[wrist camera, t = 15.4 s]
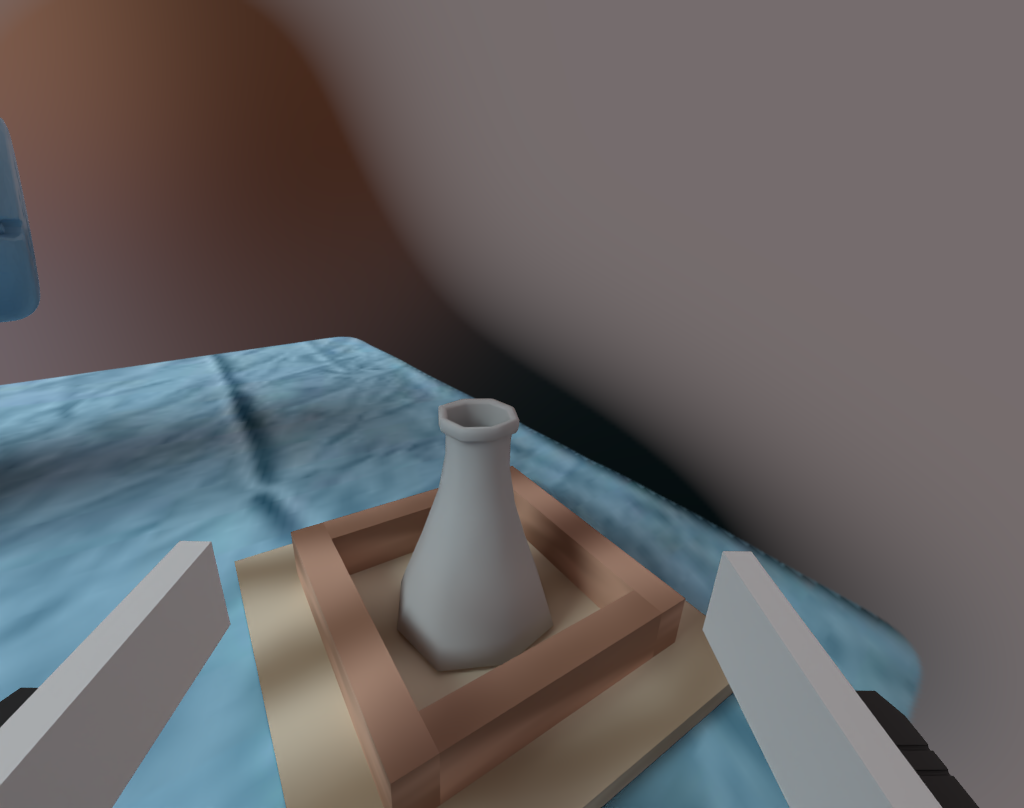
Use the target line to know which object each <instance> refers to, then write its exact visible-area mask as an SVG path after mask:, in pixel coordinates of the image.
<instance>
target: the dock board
mask: <svg viewBox="0 0 1024 808" xmlns="http://www.w3.org/2000/svg"><path fill="white" fill-rule="evenodd" d="M510 472H511V479H512V486H513V493H514V500H515V505H516V508H517V511H518V514H519V518H520V521H521V524H522V527H523V531H524V534H525V537H526V539H527V542H528V545H529V548H530V551H531V553H532V556H533V559H534V562H535V565H536V568H537V571H538V574H539V577H540V581H541V584H542V587H543V591H544V594H545V598H546V601H547V604H548V608H549V611H550V615H551V618H552V622H553V626H552V627H551V628H550V629H549V630H548V631H546V632H545V633H544V634H543V635H542V636H541V637H539V638H538V639H537V640H536V641H535V642H534V643H533V644H531V645H530V646H529V647H528V648H527V649H526V650H524V651H523V652H522V653H521V654H519V655H518V656H516V657H514V658H512V659H511V660H509V661H507V662H505V663H503V664H502V665H495V666H486V667H476V668H467V669H457V670H447V671H437V670H436V669H435V668H434V667H433V666H432V665H431V664H430V663H429V662H428V661H427V660H426V659H425V658H424V657H423V655H422V654H421V653H420V652H419V651H418V650H417V649H416V648H415V647H414V646H413V645H412V644H411V643H410V642H409V641H408V640H407V639H406V638H405V637H404V636H403V634H402V633H401V632H400V631H399V630H398V629H397V626H398V613H399V601H400V589H401V581H402V578H403V575H404V573H405V570H406V568H407V565H408V563H409V561H410V559H411V556H412V554H413V552H414V549H415V547H416V545H417V543H418V540H419V538H420V536H421V533H422V531H423V528H424V526H425V523H426V520H427V518H428V515H429V512H430V510H431V507H432V505H433V502H434V499H435V497H436V494H437V491H438V489H439V488H437V489H434V490H430V491H427V492H424V493H420V494H417V495H414V496H410V497H407V498H404V499H400V500H397V501H394V502H390V503H387V504H383V505H380V506H377V507H373V508H370V509H367V510H363V511H360V512H357V513H353V514H350V515H347V516H343V517H340V518H337V519H333V520H330V521H327V522H323V523H320V524H316V525H313V526H310V527H306V528H303V529H300V530H296V531H293V532H291V536H292V543H293V544H290V545H287V546H283V547H280V548H277V549H274V550H271V551H267V552H264V553H261V554H258V555H254V556H251V557H248V558H245V559H242V560H238V561H235V566H236V571H237V576H238V580H239V585H240V590H241V595H242V599H243V604H244V609H245V614H246V618H247V623H248V628H249V633H250V637H251V642H252V647H253V652H254V656H255V661H256V666H257V671H258V675H259V680H260V685H261V690H262V694H263V699H264V704H265V709H266V713H267V718H268V723H269V728H270V732H271V737H272V742H273V747H274V751H275V756H276V761H277V766H278V770H279V775H280V780H281V784H282V789H283V794H284V799H285V803H286V808H601V807H602V806H604V805H605V804H606V803H607V802H608V801H609V800H610V799H612V798H613V797H614V796H615V795H616V794H617V793H618V792H620V791H621V790H622V789H623V788H624V787H625V786H626V785H628V784H629V783H630V782H631V781H632V780H633V779H634V778H636V777H637V776H638V775H639V774H640V773H641V772H643V771H644V770H645V769H646V768H647V767H648V766H649V765H651V764H652V763H653V762H654V761H655V760H656V759H657V758H659V757H660V756H661V755H662V754H663V753H664V752H665V751H667V750H668V749H669V748H670V747H671V746H672V745H673V744H675V743H676V742H677V741H678V740H679V739H680V738H681V737H683V736H684V735H685V734H686V733H687V732H688V731H690V730H691V729H692V728H693V727H694V726H695V725H696V724H698V723H699V722H700V721H701V720H702V719H703V718H704V717H706V716H707V715H708V714H709V713H710V712H711V711H712V710H714V709H715V708H716V707H717V706H718V705H719V704H720V703H722V702H723V701H724V700H725V699H726V698H727V697H728V696H730V695H731V694H732V693H733V691H732V689H731V687H730V685H729V683H728V681H727V679H726V677H725V675H724V673H723V671H722V668H721V666H720V664H719V662H718V660H717V658H716V656H715V654H714V652H713V650H712V648H711V646H710V644H709V642H708V640H707V638H706V636H705V634H704V632H703V630H702V629H703V626H704V622H705V618H706V616H705V615H704V614H702V613H701V612H700V611H699V610H697V609H696V608H695V607H693V606H692V605H691V604H689V603H688V602H687V601H686V600H685V598H684V597H683V596H681V595H680V594H679V593H677V592H676V591H675V590H674V589H672V588H671V587H670V586H668V585H667V584H666V583H664V582H663V581H662V580H661V579H659V578H658V577H657V576H655V575H654V574H653V573H651V572H650V571H649V570H647V569H646V568H645V567H644V566H642V565H641V564H640V563H638V562H637V561H636V560H634V559H633V558H632V557H630V556H629V555H628V554H627V553H625V552H624V551H623V550H621V549H620V548H619V547H617V546H616V545H615V544H614V543H612V542H611V541H610V540H608V539H607V538H606V537H604V536H603V535H602V534H600V533H599V532H598V531H597V530H595V529H594V528H593V527H591V526H590V525H589V524H587V523H586V522H585V521H584V520H582V519H581V518H580V517H578V516H577V515H576V514H574V513H573V512H572V511H570V510H569V509H568V508H567V507H565V506H564V505H563V504H561V503H560V502H559V501H557V500H556V499H555V498H553V497H552V496H551V495H550V494H548V493H547V492H546V491H544V490H543V489H542V488H540V487H539V486H538V485H537V484H535V483H534V482H533V481H531V480H530V479H529V478H527V477H526V476H525V475H523V474H522V473H521V472H520V471H518V470H517V469H516V468H514V467H513V466H511V467H510Z"/></svg>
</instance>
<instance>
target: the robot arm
mask: <svg viewBox="0 0 1024 808" xmlns="http://www.w3.org/2000/svg"><path fill="white" fill-rule="evenodd" d="M39 301H40V287H39V279H38V273H37V266H36V260H35V255H34V249H33V243H32V238H31V232H30V227H29V221H28V216H27V211H26V206H25V201H24V196H23V192H22V187H21V182H20V177H19V172H18V168H17V163H16V159H15V154H14V150H13V145H12V141H11V137H10V134H9V131H8V129H7V127H6V124H5V123H4V121H3V119H2V118H0V322H8V321H16V320H19V319H23V318H25V317H27V316H29V315H30V314H32V313H33V312H34V311H35V310H36V308H37V307H38V305H39ZM229 626H230V621H229V616H228V612H227V608H226V603H225V599H224V595H223V591H222V586H221V582H220V578H219V573H218V569H217V565H216V560H215V556H214V552H213V548H212V543H211V542H199V541H179V542H178V543H177V545H176V546H175V547H174V548H173V549H172V550H171V551H170V552H169V553H168V554H167V555H166V556H165V557H164V558H163V559H162V560H161V561H160V562H159V563H158V564H157V565H156V566H155V567H154V568H153V569H152V571H151V572H150V573H149V574H148V575H147V576H146V577H145V578H144V579H143V580H142V581H141V582H140V583H139V584H138V585H137V586H136V587H135V588H134V589H133V590H132V591H131V592H130V593H129V594H128V595H127V596H126V598H125V599H124V600H123V601H122V602H121V603H120V604H119V605H118V606H117V607H116V608H115V609H114V610H113V611H112V612H111V613H110V614H109V615H108V616H107V617H106V618H105V619H104V620H103V621H102V622H101V623H100V625H99V626H98V627H97V628H96V629H95V630H94V631H93V632H92V633H91V634H90V635H89V636H88V637H87V638H86V639H85V640H84V641H83V642H82V643H81V644H80V645H79V646H78V647H77V648H76V649H75V651H74V652H73V653H72V654H71V655H70V656H69V657H68V658H67V659H66V660H65V661H64V662H63V663H62V664H61V665H60V666H59V667H58V668H57V669H56V670H55V671H54V672H53V673H52V674H51V675H50V676H49V678H48V679H47V680H46V681H45V682H44V683H43V684H42V685H41V686H40V687H39V688H20V689H18V690H17V691H15V692H14V693H12V694H11V695H9V696H8V697H7V698H5V699H4V700H2V701H1V702H0V808H112V807H113V805H114V804H115V802H116V801H117V799H118V798H119V796H120V795H121V793H122V792H123V790H124V788H125V787H126V785H127V784H128V782H129V781H130V779H131V778H132V776H133V774H134V773H135V771H136V770H137V768H138V767H139V765H140V764H141V762H142V761H143V759H144V757H145V756H146V754H147V753H148V751H149V750H150V748H151V747H152V745H153V744H154V742H155V740H156V739H157V737H158V736H159V734H160V733H161V731H162V730H163V728H164V726H165V725H166V723H167V722H168V720H169V719H170V717H171V716H172V714H173V713H174V711H175V709H176V708H177V706H178V705H179V703H180V702H181V700H182V699H183V697H184V696H185V694H186V692H187V691H188V689H189V688H190V686H191V685H192V683H193V682H194V680H195V678H196V677H197V675H198V674H199V672H200V671H201V669H202V668H203V666H204V665H205V663H206V661H207V660H208V658H209V657H210V655H211V654H212V652H213V651H214V649H215V648H216V646H217V644H218V643H219V641H220V640H221V638H222V637H223V635H224V634H225V632H226V630H227V629H228V627H229ZM702 630H703V632H704V634H705V636H706V638H707V640H708V642H709V644H710V646H711V648H712V650H713V652H714V654H715V656H716V658H717V660H718V662H719V664H720V666H721V668H722V671H723V673H724V675H725V677H726V679H727V681H728V683H729V685H730V687H731V689H732V691H733V693H734V695H735V697H736V699H737V701H738V703H739V705H740V707H741V709H742V711H743V713H744V715H745V717H746V719H747V721H748V724H749V726H750V728H751V730H752V732H753V734H754V736H755V738H756V740H757V742H758V744H759V746H760V748H761V750H762V752H763V754H764V756H765V758H766V760H767V762H768V764H769V766H770V768H771V770H772V772H773V774H774V777H775V779H776V781H777V783H778V785H779V787H780V789H781V791H782V793H783V795H784V797H785V799H786V801H787V803H788V805H789V807H790V808H979V807H978V806H977V805H976V803H975V802H974V801H973V800H972V798H971V797H970V796H969V795H968V793H967V792H966V791H965V790H964V789H963V787H962V786H961V785H960V784H959V782H958V781H957V780H956V779H955V777H954V776H951V775H950V774H949V773H948V769H947V767H946V766H945V765H944V764H943V763H942V761H941V760H940V759H939V758H938V756H937V755H936V754H935V753H934V751H930V749H929V748H928V744H927V743H926V741H925V740H924V739H923V738H922V736H921V735H920V734H919V733H918V732H917V730H916V729H915V728H914V727H913V725H912V724H911V723H910V722H909V720H908V719H907V718H906V717H905V715H903V714H902V713H901V712H900V711H899V710H897V709H896V708H895V707H894V706H893V705H891V704H890V703H889V702H888V701H887V700H885V699H884V698H883V697H882V696H881V695H879V694H878V693H877V692H876V691H855V690H854V689H853V687H852V686H851V685H850V683H849V682H848V681H847V679H846V678H845V677H844V675H843V674H842V673H841V671H840V670H839V668H838V667H837V666H836V664H835V663H834V662H833V660H832V659H831V658H830V656H829V655H828V654H827V652H826V651H825V650H824V648H823V647H822V646H821V644H820V643H819V642H818V640H817V639H816V638H815V636H814V635H813V634H812V632H811V631H810V630H809V628H808V627H807V626H806V624H805V623H804V622H803V620H802V619H801V618H800V616H799V615H798V614H797V612H796V611H795V610H794V608H793V607H792V606H791V604H790V603H789V602H788V600H787V599H786V597H785V596H784V595H783V593H782V592H781V591H780V589H779V588H778V587H777V585H776V584H775V583H774V581H773V580H772V579H771V577H770V576H769V575H768V573H767V572H766V571H765V569H764V568H763V567H762V565H761V564H760V563H759V561H758V560H757V559H756V557H755V556H754V555H753V553H752V552H740V551H723V553H722V557H721V560H720V564H719V568H718V572H717V576H716V580H715V583H714V587H713V591H712V595H711V599H710V603H709V606H708V610H707V614H706V618H705V622H704V626H703V629H702Z"/></svg>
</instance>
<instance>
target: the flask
mask: <svg viewBox="0 0 1024 808" xmlns="http://www.w3.org/2000/svg"><path fill="white" fill-rule="evenodd" d="M438 412H439V426H440V430H441V431H442V432H443V433H445V434H446V453H445V458H444V463H443V469H442V474H441V479H440V484H439V489H438V491H437V494H436V497H435V499H434V502H433V505H432V507H431V510H430V512H429V515H428V518H427V520H426V523H425V526H424V528H423V531H422V533H421V536H420V538H419V540H418V543H417V545H416V547H415V549H414V552H413V554H412V556H411V559H410V561H409V563H408V565H407V568H406V570H405V573H404V575H403V578H402V581H401V589H400V601H399V613H398V626H397V629H398V630H399V631H400V632H401V633H402V634H403V636H404V637H405V638H406V639H407V640H408V641H409V642H410V643H411V644H412V645H413V646H414V647H415V648H416V649H417V650H418V651H419V652H420V653H421V654H422V655H423V657H424V658H425V659H426V660H427V661H428V662H429V663H430V664H431V665H432V666H433V667H434V668H435V669H436V670H437V671H447V670H457V669H467V668H476V667H486V666H495V665H502V664H503V663H505V662H507V661H509V660H511V659H512V658H514V657H516V656H518V655H519V654H521V653H522V652H523V651H524V650H526V649H527V648H528V647H529V646H530V645H531V644H533V643H534V642H535V641H536V640H537V639H538V638H539V637H541V636H542V635H543V634H544V633H545V632H546V631H548V630H549V629H550V628H551V627H552V626H553V622H552V618H551V615H550V611H549V608H548V604H547V601H546V598H545V594H544V591H543V587H542V584H541V581H540V577H539V574H538V571H537V568H536V565H535V562H534V559H533V556H532V553H531V551H530V548H529V545H528V542H527V539H526V537H525V534H524V531H523V527H522V524H521V521H520V518H519V514H518V511H517V508H516V505H515V500H514V493H513V486H512V479H511V472H510V441H511V436H512V434H514V433H516V432H517V430H518V427H519V419H518V416H517V414H516V411H515V409H514V407H512V406H509V405H507V404H504V403H502V402H500V401H497V400H495V399H461V400H458V401H454V402H451V403H448V404H444V405H441V406H439V411H438Z"/></svg>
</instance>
